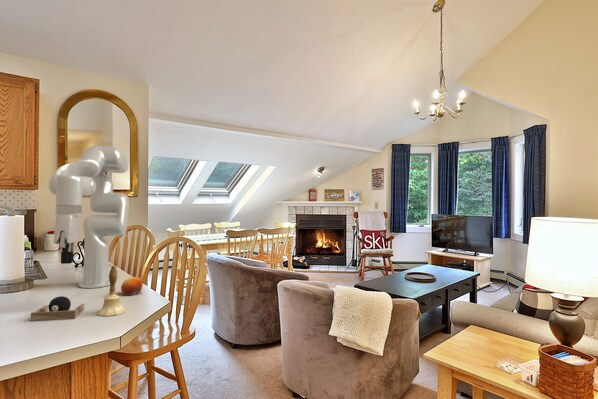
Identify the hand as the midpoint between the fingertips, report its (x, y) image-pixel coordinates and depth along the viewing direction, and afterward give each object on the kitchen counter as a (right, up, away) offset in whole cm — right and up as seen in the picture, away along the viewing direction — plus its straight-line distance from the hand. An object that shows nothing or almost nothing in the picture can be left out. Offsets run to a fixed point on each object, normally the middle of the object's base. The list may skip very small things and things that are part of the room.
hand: (66, 263), depth 118 cm
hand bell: (+16, -17, -1) cm, 24 cm away
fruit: (+11, -17, +23) cm, 31 cm away
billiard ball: (+1, -17, -5) cm, 17 cm away
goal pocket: (+1, -16, -5) cm, 17 cm away
